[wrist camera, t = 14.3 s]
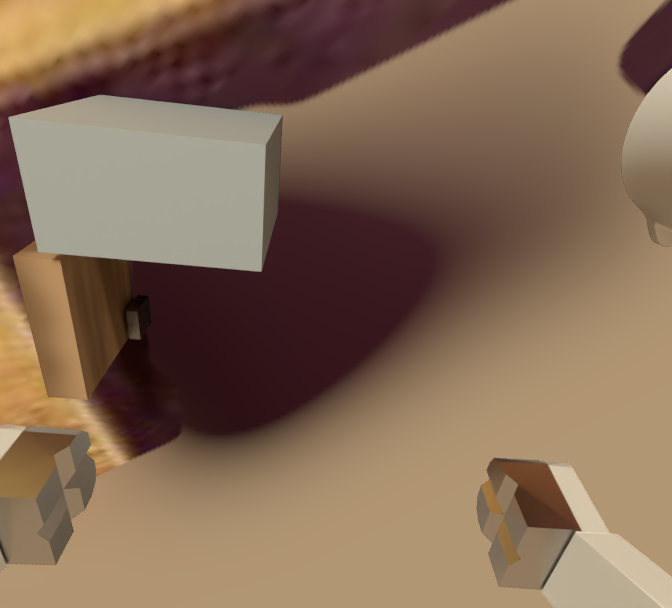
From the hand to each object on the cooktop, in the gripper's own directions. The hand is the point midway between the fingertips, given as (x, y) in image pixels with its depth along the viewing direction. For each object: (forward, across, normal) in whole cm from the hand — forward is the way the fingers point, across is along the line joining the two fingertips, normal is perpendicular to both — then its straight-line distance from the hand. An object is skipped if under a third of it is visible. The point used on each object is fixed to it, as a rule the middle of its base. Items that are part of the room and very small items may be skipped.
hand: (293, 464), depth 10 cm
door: (+33, +18, +13) cm, 40 cm away
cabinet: (+33, +10, +2) cm, 34 cm away
